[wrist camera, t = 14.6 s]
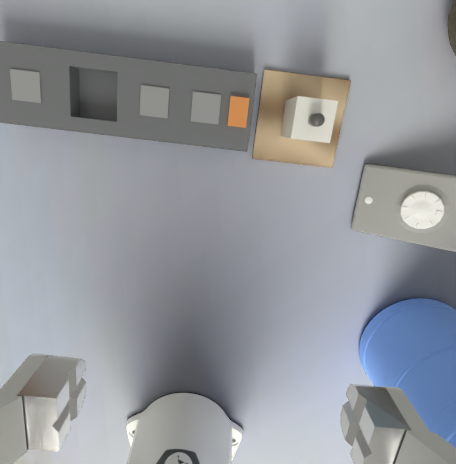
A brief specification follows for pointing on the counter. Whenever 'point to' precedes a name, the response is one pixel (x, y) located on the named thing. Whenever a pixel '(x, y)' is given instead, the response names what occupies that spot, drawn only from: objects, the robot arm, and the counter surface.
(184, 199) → the counter surface
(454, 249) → the light switch
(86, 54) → the power strip
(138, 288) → the counter surface
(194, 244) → the counter surface
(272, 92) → the cork pad
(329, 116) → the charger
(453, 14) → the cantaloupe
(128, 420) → the robot arm
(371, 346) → the water jug
